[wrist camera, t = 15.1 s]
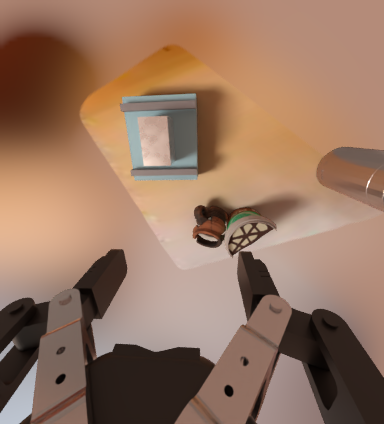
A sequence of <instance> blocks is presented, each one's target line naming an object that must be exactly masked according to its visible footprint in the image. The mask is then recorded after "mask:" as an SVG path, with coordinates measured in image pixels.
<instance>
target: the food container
mask: <svg viewBox="0 0 384 424" xmlns="http://www.w3.org/2000/svg"><path fill="white" fill-rule="evenodd" d="M273 229H275V230H276V224H275V223H274V222H272V221H271V220H270V219H268V218H265V217H263V216H261V215H260V214H259V213H258V212H257V211H256V210H254V209H252V208H247V207H245V208H239V209H236V210H235V211H233V212H232V213H231V214H230V215H229V217H228V223H227V232H226V234H225V238H224V243H225V247H226V250H227V251H228V253H229V255H230V256H231V257H232V258H233V255H234V254H236V253H237V252H238V251H240V250H241V249H243V248H245V247H247V246H249V245H251V244H252V243H254V242H255V241H257V240H258V239H259V238H260V237H262V236H263V235H265V234H266V233H268V232H269V231H271V230H273ZM276 231H277V230H276Z"/></svg>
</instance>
